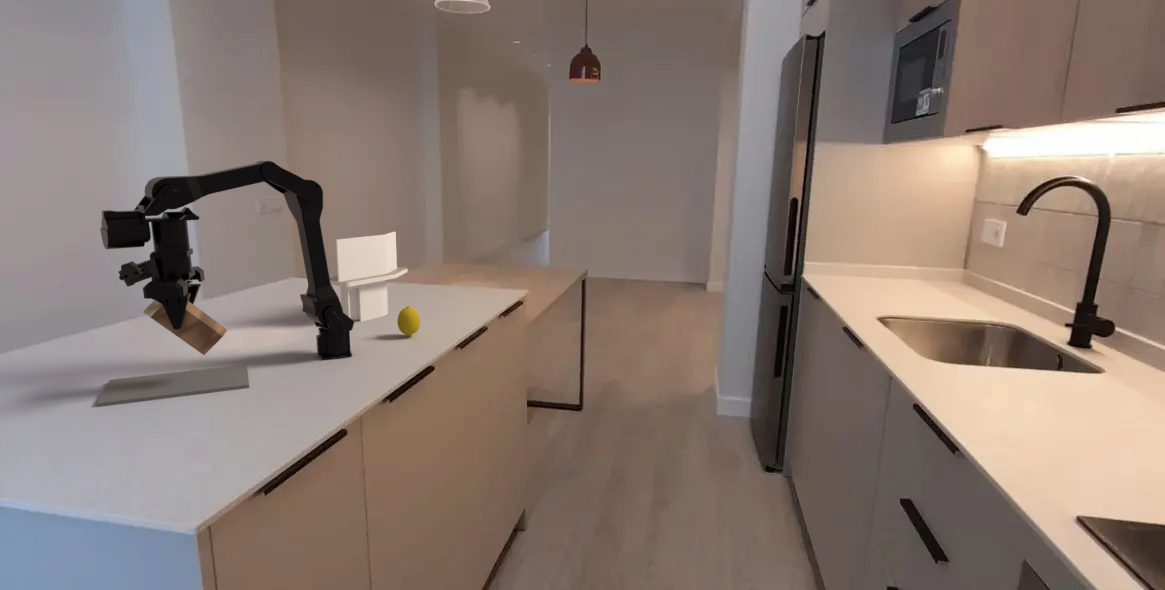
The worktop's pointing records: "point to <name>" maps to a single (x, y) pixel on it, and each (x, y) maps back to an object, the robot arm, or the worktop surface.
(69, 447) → the worktop surface
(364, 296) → the architectural model
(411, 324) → the lemon
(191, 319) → the walnut block
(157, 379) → the slate mat
